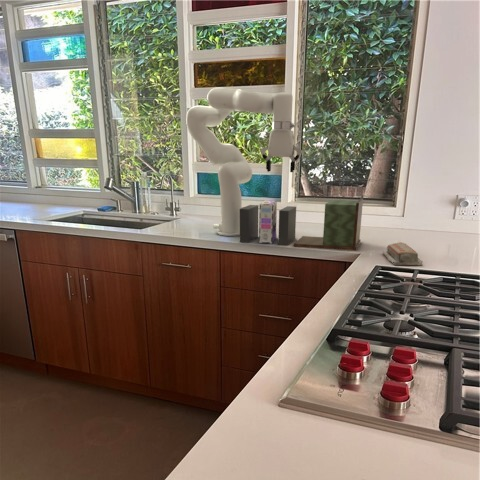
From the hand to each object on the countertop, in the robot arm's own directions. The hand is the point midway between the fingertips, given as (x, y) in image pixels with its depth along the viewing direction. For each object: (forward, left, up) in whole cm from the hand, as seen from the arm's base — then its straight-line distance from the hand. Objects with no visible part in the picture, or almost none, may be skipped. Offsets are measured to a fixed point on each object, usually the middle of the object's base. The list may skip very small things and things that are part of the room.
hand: (280, 171), depth 191 cm
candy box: (-4, -2, -29) cm, 29 cm away
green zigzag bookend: (+22, -2, -29) cm, 36 cm away
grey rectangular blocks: (-4, -2, -29) cm, 29 cm away
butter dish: (+51, -21, -29) cm, 62 cm away
